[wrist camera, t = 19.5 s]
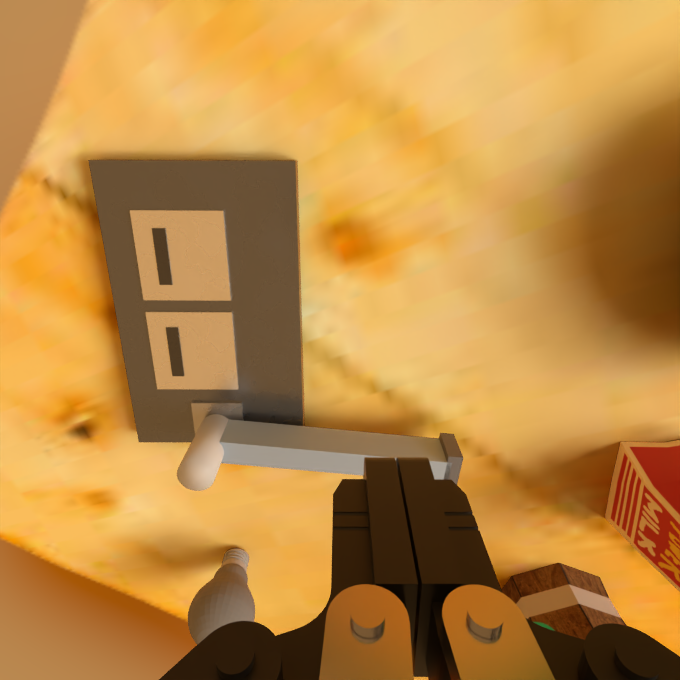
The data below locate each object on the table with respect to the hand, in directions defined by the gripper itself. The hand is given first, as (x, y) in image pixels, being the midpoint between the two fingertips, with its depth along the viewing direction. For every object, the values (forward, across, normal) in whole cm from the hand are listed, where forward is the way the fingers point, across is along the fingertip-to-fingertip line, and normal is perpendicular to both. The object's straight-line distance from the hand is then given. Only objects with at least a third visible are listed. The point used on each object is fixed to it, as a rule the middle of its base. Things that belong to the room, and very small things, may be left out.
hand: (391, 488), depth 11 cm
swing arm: (+27, +2, +16) cm, 31 cm away
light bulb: (+29, +12, +32) cm, 45 cm away
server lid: (+29, +12, +5) cm, 32 cm away
